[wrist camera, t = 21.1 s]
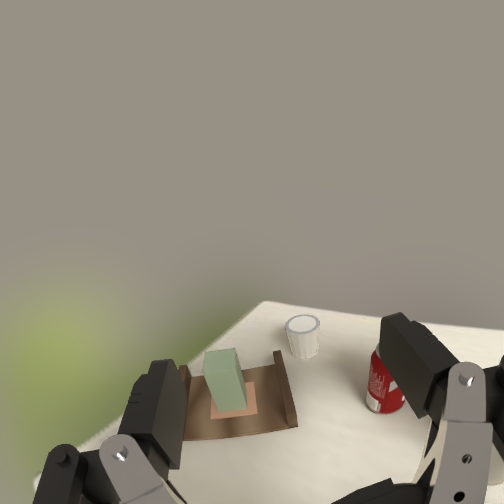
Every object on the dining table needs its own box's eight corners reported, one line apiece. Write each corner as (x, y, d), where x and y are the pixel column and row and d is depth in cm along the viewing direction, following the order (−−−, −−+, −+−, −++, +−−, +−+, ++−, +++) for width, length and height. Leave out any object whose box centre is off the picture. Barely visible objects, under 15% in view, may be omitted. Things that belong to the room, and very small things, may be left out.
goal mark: (253, 382, 50) (253, 381, 49) (257, 413, 42) (257, 412, 42) (212, 388, 49) (211, 387, 49) (210, 419, 42) (210, 418, 42)
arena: (282, 365, 54) (280, 350, 52) (297, 426, 38) (296, 412, 37) (185, 379, 53) (179, 365, 52) (176, 441, 38) (167, 427, 37)
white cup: (327, 352, 54) (326, 324, 52) (298, 365, 52) (295, 338, 50) (310, 336, 61) (308, 310, 58) (283, 348, 59) (279, 321, 56)
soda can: (371, 421, 36) (379, 369, 32) (361, 392, 42) (366, 339, 38) (409, 410, 35) (424, 357, 31) (397, 383, 41) (406, 330, 38)
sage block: (246, 388, 48) (235, 347, 45) (247, 408, 43) (235, 367, 40) (219, 392, 48) (205, 352, 45) (218, 412, 43) (202, 372, 40)
